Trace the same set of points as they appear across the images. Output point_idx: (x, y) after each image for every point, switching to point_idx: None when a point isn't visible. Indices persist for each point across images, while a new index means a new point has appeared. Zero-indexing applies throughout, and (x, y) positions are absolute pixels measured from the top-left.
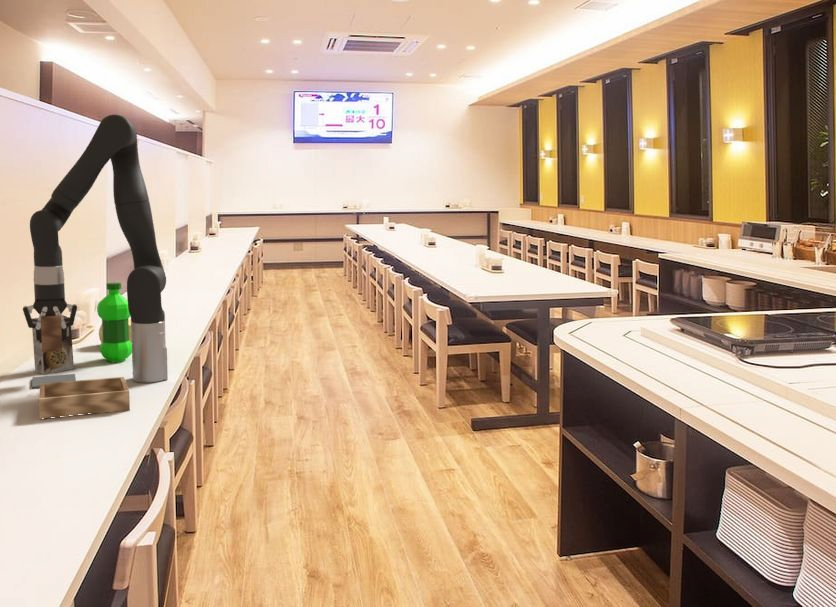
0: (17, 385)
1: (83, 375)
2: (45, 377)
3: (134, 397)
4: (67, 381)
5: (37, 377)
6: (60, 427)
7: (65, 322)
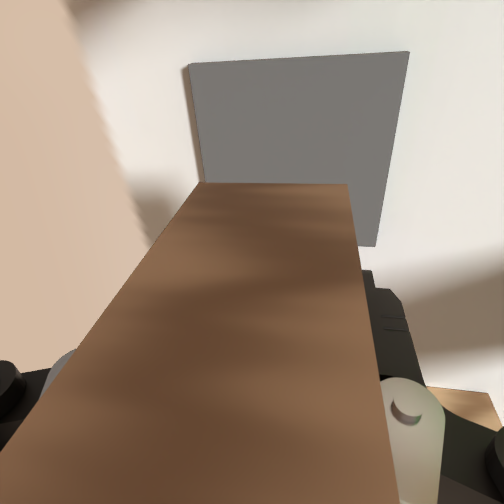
0: (153, 164)
1: (454, 56)
2: (250, 95)
3: (501, 417)
4: None
5: (212, 80)
6: None
7: (437, 471)
